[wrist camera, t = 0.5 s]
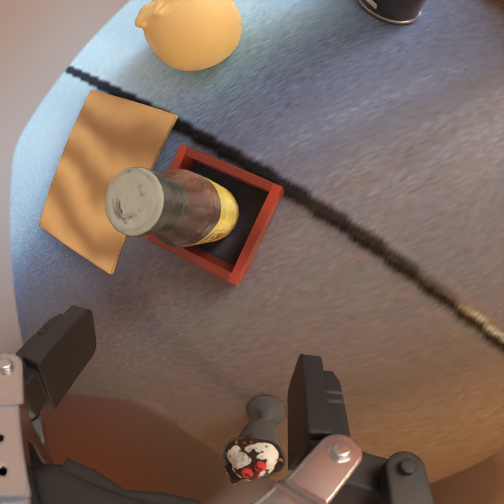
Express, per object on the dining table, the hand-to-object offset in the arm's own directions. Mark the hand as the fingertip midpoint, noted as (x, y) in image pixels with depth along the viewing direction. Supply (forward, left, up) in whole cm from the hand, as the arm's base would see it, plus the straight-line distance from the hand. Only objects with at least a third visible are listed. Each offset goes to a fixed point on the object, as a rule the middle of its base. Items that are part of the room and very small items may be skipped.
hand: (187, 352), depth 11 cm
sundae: (+17, +8, -25) cm, 32 cm away
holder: (-3, -8, -25) cm, 26 cm away
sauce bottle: (-3, -8, -25) cm, 27 cm away
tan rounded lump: (-23, -20, -25) cm, 40 cm away
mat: (-1, -26, -25) cm, 36 cm away
